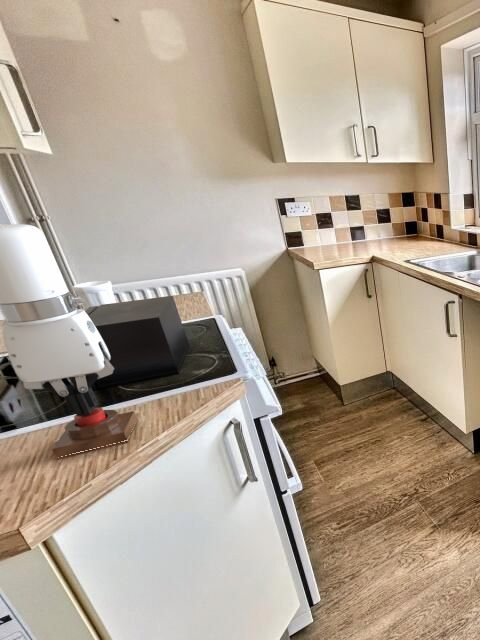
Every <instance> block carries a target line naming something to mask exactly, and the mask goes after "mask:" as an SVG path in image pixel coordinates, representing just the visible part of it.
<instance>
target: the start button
mask: <svg viewBox="0 0 480 640" xmlns="http://www.w3.org/2000/svg"><path fill="white" fill-rule="evenodd" d="M103 410H104V409H103V408H102V407H95V409H94V410H93V412H92V413H91V414H88V415H86V414H84V415H83V416H79V417H78V416H77V415H76V414H75V415H74V416H73V417H74V418H73V420H74V419H75V421H76V423H77V425H78V426H79V427H84V426H88V425H93V424H95V423H98V422H101V421H102V420H104V419H106V415H105V413H104V411H103Z"/></svg>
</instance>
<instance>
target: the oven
mask: <svg viewBox="0 0 480 640" xmlns="http://www.w3.org/2000/svg"><path fill="white" fill-rule="evenodd" d="M89 318H90V319H91V320H92V322H93V324H94V325H95V327H96V328H97V330H98V332H99V334H100V335H101V337H102V339H103V341H104V343H105V345H106V347H107V349H108V351H109V353H110V360H109V362H110V363H111V365H112V366H113V367H114V369H115V370H114V372H113V373H112V374H110V375H108V376H105V377H103V378H99V379H97V380H96V383H97V386H98V388H99V389H98V390H99V391H103V390H106V389H112V388H118V387H122V386H127V385H132V384H137V383H138V384H139V383H143V382H147V381H153V380H158V379H162V378H168V377H173V376H178V375H180V374H181V371H182V368H183V365H184V362H185V360H186V357H187V354H188V351H189V350H190V349H189V348H190V342H189V339H188V336H187V334H186V331H185V328H184V325H183V323H182V318H181V316H180V314H179V311H178V307H177V304H176V301H175V298H174V295H168V296H159V297H152V298H143V299H137V300H136V299H135V300H128V301H127V300H126V301H119V302H116V303H111V304H103V305H100V306H99V307H98V308H97V309H96V310H94V311H93V312H92V313H91V314H90V315H89Z"/></svg>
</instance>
